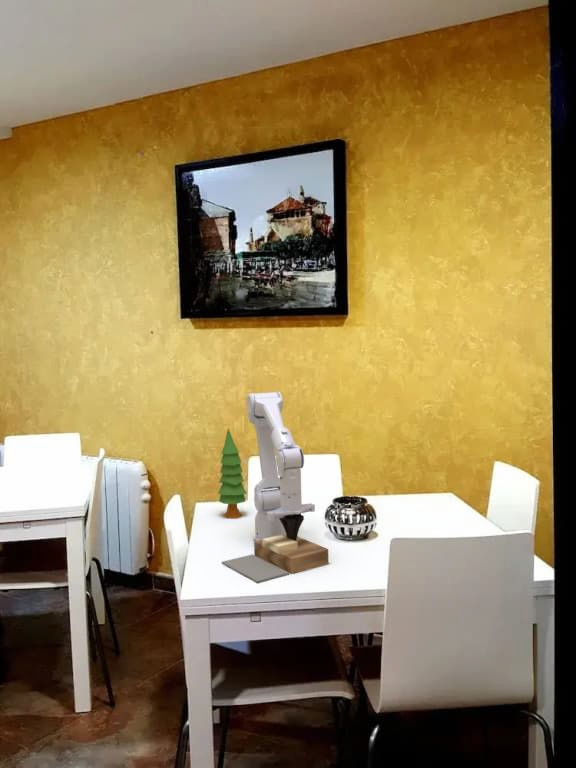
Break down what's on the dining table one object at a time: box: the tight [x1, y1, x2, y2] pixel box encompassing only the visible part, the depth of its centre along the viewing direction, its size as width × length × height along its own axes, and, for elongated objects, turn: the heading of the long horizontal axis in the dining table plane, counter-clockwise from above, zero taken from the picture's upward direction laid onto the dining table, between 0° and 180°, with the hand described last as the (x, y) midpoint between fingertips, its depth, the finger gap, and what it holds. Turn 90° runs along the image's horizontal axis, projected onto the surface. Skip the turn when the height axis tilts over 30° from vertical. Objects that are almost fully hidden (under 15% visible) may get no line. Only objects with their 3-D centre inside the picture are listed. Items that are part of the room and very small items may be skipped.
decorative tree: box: [217, 428, 247, 519], centre depth 234 cm, size 10×9×30 cm
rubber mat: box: [221, 553, 290, 584], centre depth 184 cm, size 18×10×1 cm, turn 35°
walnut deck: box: [253, 534, 329, 575], centre depth 190 cm, size 18×12×4 cm, turn 35°
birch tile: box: [262, 535, 298, 554], centre depth 188 cm, size 8×6×2 cm
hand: (292, 541), depth 190 cm, fingers closed
